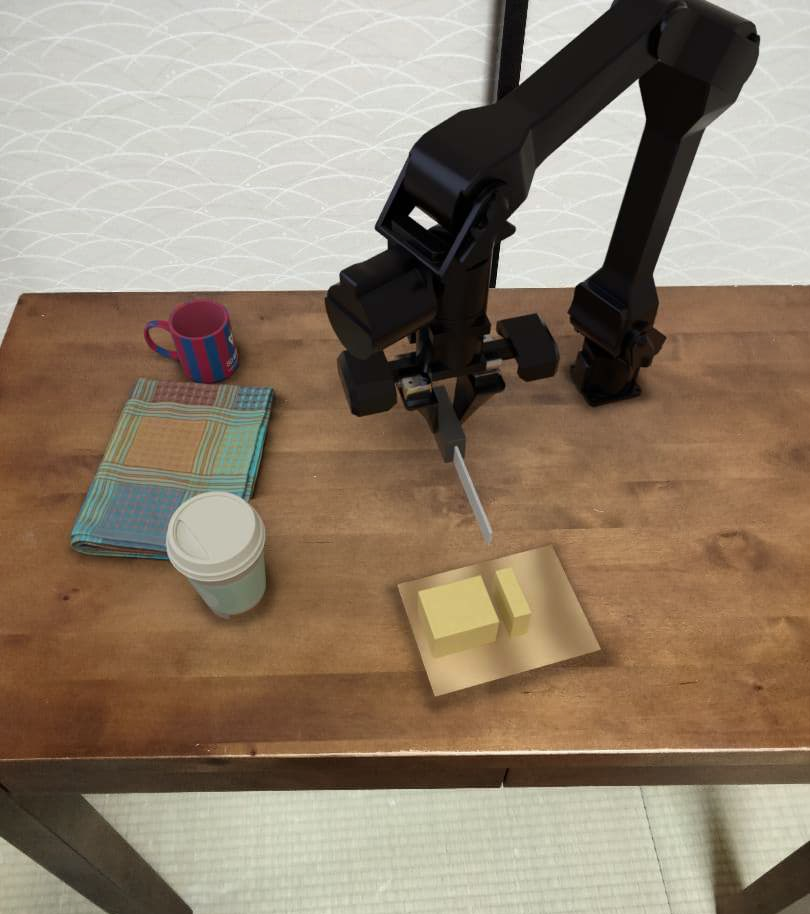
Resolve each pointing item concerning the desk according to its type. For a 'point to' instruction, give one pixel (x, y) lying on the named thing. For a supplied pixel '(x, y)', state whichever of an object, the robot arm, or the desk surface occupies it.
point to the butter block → (457, 616)
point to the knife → (458, 455)
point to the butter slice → (511, 602)
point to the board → (548, 634)
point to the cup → (199, 340)
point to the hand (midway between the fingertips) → (444, 427)
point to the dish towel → (170, 462)
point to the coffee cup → (220, 551)
